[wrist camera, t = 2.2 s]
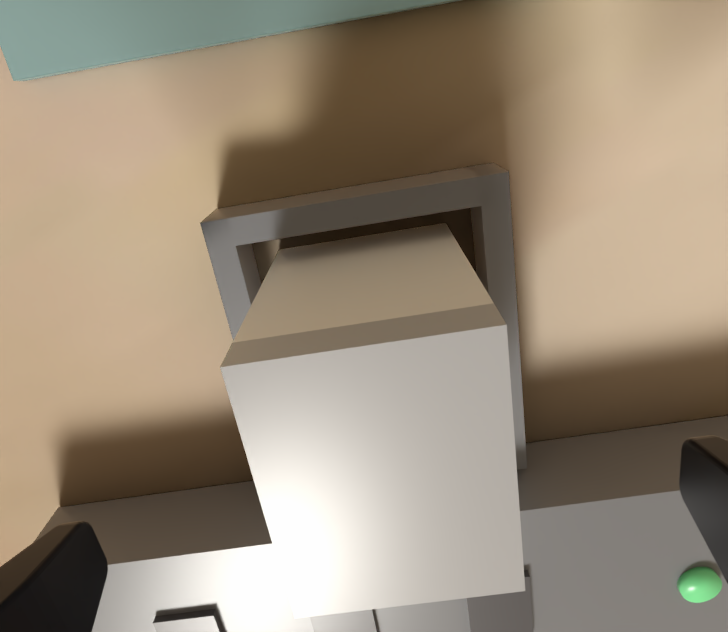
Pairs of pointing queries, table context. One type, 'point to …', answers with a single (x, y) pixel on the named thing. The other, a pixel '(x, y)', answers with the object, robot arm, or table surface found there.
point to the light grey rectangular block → (380, 424)
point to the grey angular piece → (534, 473)
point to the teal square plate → (156, 27)
